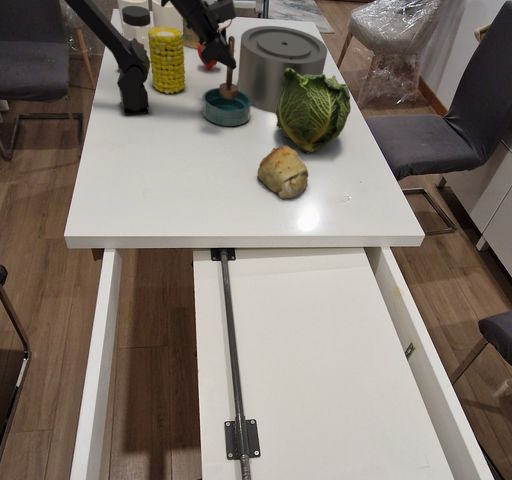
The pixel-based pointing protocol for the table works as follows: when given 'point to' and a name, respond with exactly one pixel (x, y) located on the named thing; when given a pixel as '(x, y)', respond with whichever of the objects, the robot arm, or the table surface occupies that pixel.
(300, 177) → the pastry
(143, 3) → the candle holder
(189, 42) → the mug
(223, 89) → the rounded top peg stand
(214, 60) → the strawberry
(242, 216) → the table surface
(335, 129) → the vegetable
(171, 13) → the cup
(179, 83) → the food
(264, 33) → the container
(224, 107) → the bowl
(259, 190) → the table surface
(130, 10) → the jar
